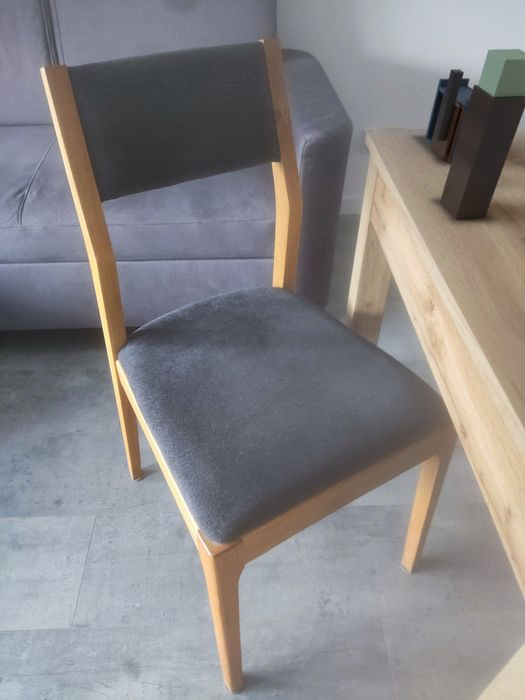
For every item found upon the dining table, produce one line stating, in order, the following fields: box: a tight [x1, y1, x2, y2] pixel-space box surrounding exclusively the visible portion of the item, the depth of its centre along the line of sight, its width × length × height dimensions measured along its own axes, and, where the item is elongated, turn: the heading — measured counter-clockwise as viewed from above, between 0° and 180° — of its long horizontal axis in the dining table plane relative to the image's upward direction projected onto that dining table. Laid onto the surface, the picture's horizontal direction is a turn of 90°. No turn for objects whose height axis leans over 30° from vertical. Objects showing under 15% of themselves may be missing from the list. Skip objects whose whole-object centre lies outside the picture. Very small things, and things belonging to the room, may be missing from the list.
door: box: [429, 68, 465, 160], centre depth 82 cm, size 2×5×13 cm, turn 10°
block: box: [477, 48, 525, 97], centre depth 62 cm, size 4×4×4 cm
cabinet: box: [424, 77, 473, 164], centre depth 85 cm, size 6×10×10 cm, turn 11°
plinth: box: [439, 84, 525, 220], centre depth 68 cm, size 4×5×16 cm
